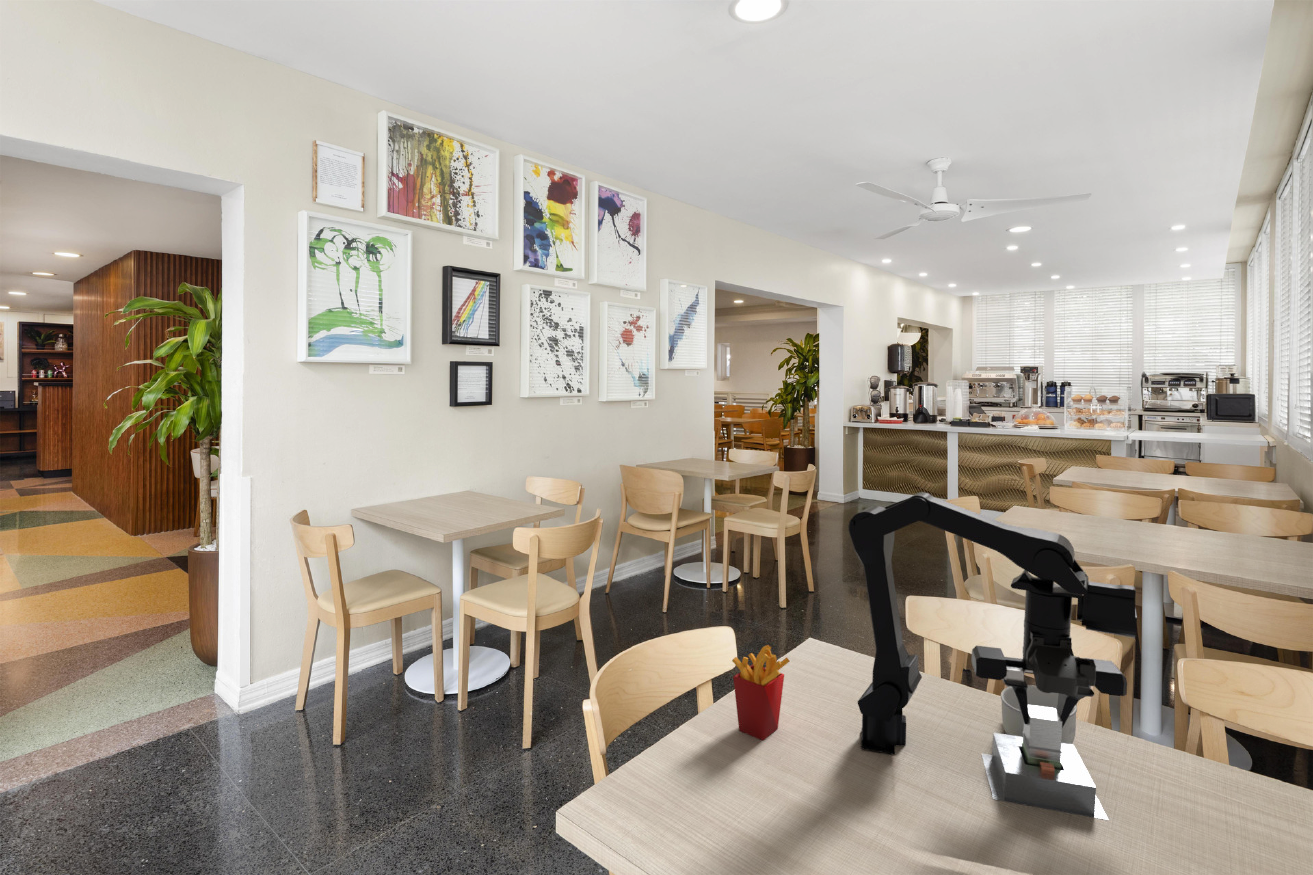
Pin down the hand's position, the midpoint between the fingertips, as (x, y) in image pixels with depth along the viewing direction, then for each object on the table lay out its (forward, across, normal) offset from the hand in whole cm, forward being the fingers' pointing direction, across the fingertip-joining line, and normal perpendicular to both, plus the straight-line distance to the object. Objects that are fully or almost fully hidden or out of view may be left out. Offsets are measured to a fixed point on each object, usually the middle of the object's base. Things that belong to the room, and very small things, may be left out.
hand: (1042, 725), depth 95 cm
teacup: (+10, +2, +15) cm, 18 cm away
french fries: (+10, -41, +4) cm, 42 cm away
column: (+5, 0, 0) cm, 5 cm away
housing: (+10, 0, 0) cm, 10 cm away
